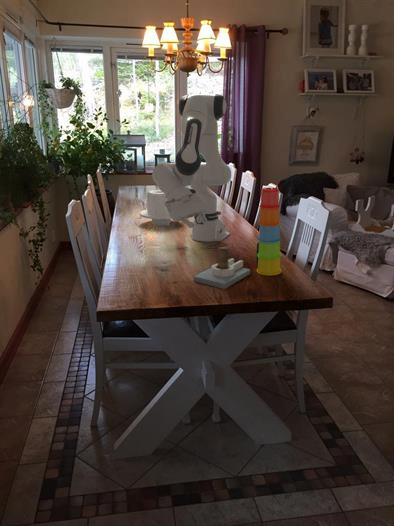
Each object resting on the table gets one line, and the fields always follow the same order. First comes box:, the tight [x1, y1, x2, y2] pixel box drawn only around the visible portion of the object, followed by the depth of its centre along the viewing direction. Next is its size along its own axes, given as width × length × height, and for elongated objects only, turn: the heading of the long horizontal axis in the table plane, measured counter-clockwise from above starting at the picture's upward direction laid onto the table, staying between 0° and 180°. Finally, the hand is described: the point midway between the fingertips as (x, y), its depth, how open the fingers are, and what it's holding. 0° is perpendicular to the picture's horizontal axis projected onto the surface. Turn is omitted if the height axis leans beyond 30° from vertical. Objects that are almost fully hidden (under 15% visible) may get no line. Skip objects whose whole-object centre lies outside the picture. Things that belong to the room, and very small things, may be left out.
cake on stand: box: [139, 189, 173, 227], centre depth 256 cm, size 25×25×19 cm
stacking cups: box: [256, 187, 282, 277], centre depth 176 cm, size 10×10×35 cm
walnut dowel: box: [217, 246, 230, 269], centre depth 173 cm, size 4×4×10 cm
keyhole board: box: [193, 257, 251, 290], centre depth 175 cm, size 22×14×4 cm, turn 145°
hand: (199, 224), depth 176 cm, fingers open, 8 cm apart
